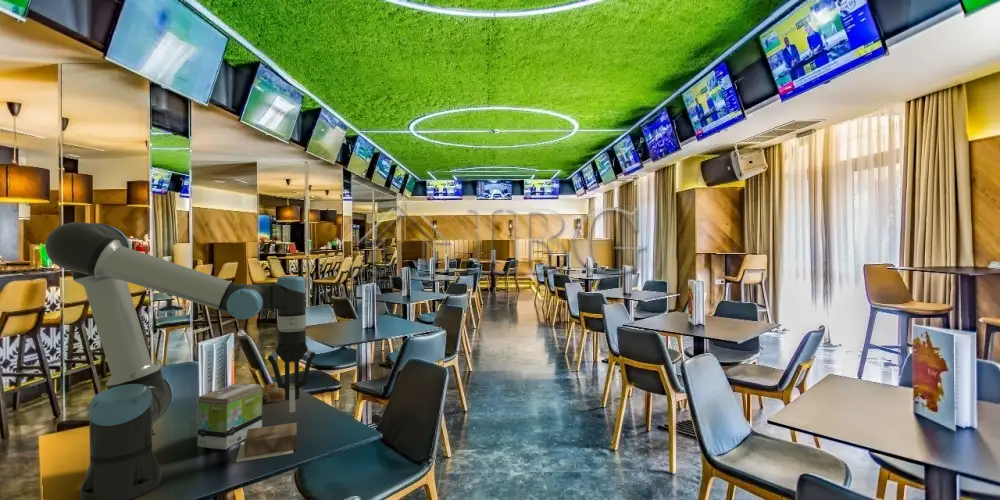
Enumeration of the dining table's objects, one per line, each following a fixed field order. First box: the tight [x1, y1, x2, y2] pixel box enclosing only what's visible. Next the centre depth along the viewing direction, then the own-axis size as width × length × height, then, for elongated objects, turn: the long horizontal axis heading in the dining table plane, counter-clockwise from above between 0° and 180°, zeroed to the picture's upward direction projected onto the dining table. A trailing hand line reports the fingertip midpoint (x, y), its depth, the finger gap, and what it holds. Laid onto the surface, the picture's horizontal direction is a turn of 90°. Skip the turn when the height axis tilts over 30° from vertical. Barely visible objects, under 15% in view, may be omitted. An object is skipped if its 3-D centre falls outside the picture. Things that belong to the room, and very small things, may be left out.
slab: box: [243, 422, 298, 457], centre depth 137 cm, size 4×10×13 cm
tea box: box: [197, 382, 263, 450], centre depth 144 cm, size 15×10×15 cm, turn 168°
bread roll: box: [262, 381, 286, 404], centre depth 181 cm, size 10×10×8 cm
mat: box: [235, 441, 294, 463], centre depth 137 cm, size 14×13×1 cm
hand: (292, 410), depth 139 cm, fingers closed
